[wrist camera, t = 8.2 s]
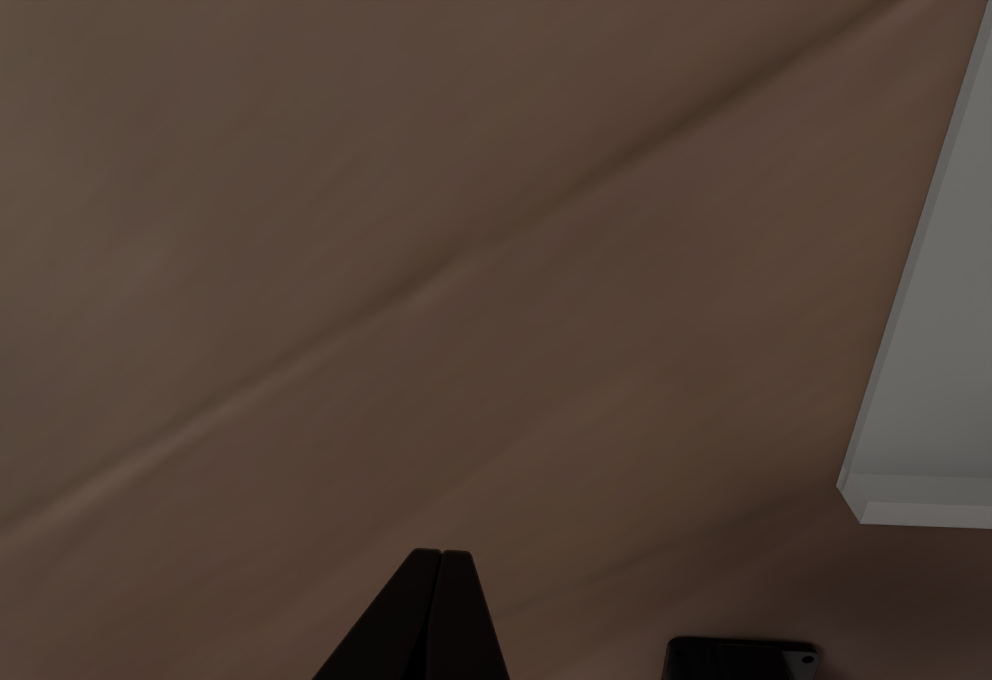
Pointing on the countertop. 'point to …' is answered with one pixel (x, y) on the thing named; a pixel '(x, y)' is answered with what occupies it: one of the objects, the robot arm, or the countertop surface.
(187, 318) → the countertop surface
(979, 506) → the mat
